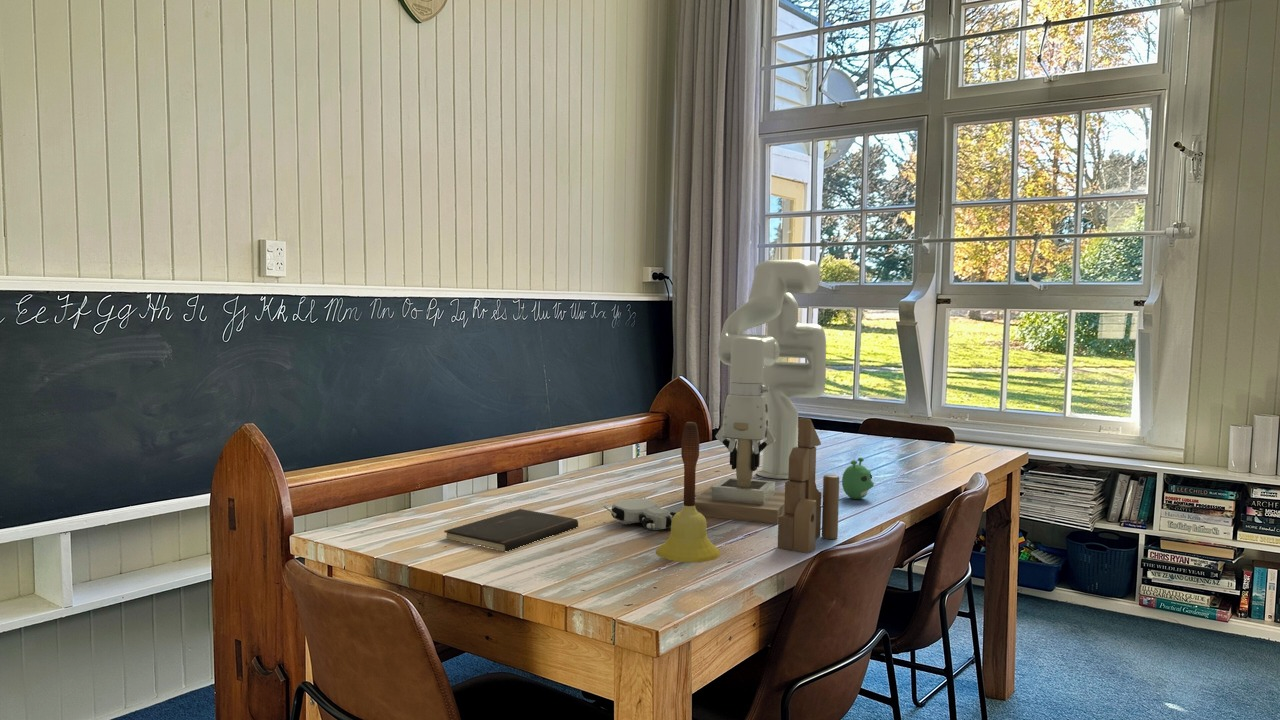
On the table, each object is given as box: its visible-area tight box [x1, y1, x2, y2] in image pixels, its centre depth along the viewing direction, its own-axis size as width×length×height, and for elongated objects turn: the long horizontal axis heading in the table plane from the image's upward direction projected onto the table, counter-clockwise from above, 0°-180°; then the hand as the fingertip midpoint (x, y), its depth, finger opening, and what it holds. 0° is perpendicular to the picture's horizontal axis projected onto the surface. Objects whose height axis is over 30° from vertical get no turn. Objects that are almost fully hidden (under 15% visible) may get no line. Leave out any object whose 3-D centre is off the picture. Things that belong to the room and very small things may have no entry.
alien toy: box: [841, 457, 875, 500], centre depth 217 cm, size 7×8×10 cm
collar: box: [711, 477, 776, 505], centre depth 204 cm, size 12×12×3 cm
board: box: [695, 486, 785, 525], centre depth 204 cm, size 20×20×3 cm
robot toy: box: [603, 497, 677, 531], centre depth 188 cm, size 12×4×15 cm
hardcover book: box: [443, 508, 579, 552], centre depth 180 cm, size 16×23×2 cm
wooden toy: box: [777, 417, 840, 554], centre depth 176 cm, size 16×7×25 cm, turn 145°
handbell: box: [655, 421, 722, 563], centre depth 167 cm, size 12×12×25 cm
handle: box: [733, 423, 754, 488], centre depth 203 cm, size 5×6×15 cm
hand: (744, 468), depth 203 cm, fingers closed on handle, 4 cm apart
